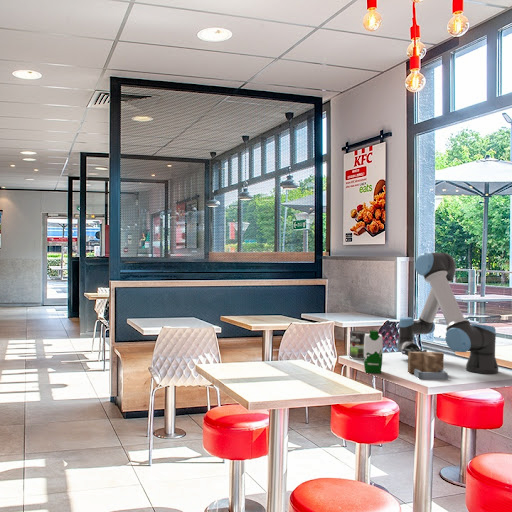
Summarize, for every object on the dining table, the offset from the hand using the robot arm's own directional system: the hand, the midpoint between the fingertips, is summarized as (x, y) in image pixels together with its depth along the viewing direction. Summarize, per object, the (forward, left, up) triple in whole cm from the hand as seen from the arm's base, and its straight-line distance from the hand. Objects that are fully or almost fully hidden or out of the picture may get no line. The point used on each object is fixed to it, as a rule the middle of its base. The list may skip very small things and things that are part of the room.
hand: (423, 357), depth 299 cm
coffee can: (+25, -36, -7) cm, 44 cm away
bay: (0, +12, -7) cm, 14 cm away
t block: (0, +7, -7) cm, 10 cm away
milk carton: (+25, +2, -7) cm, 26 cm away
